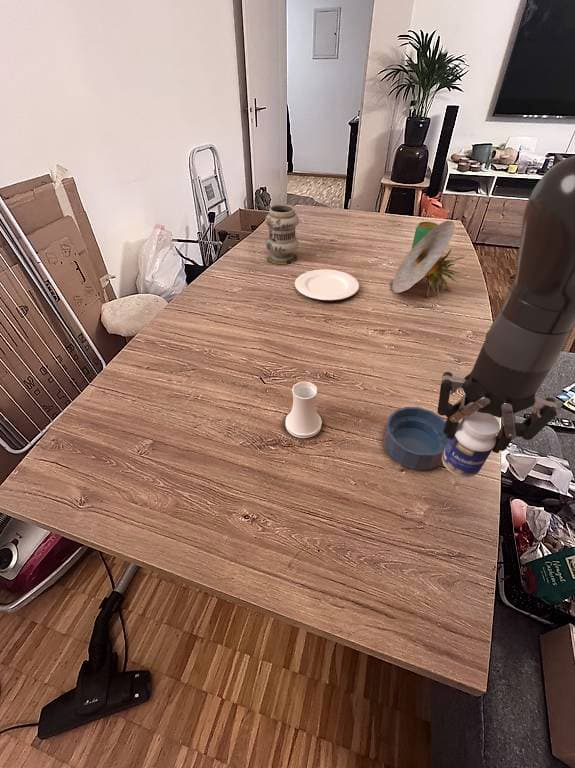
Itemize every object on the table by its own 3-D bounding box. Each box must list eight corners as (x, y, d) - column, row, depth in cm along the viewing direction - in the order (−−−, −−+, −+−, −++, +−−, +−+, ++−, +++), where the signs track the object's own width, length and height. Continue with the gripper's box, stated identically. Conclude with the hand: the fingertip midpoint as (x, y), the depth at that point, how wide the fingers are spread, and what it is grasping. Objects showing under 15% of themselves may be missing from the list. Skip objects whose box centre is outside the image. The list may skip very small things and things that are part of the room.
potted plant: (420, 333, 116) (497, 279, 102) (383, 293, 111) (459, 231, 98) (415, 301, 136) (479, 253, 122) (383, 266, 131) (446, 212, 118)
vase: (312, 443, 75) (314, 408, 68) (279, 430, 78) (278, 395, 71) (326, 418, 80) (330, 383, 73) (295, 407, 83) (295, 372, 76)
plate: (281, 289, 122) (281, 284, 121) (321, 268, 133) (321, 263, 132) (332, 312, 112) (333, 306, 110) (371, 287, 123) (371, 282, 122)
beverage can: (428, 253, 143) (436, 220, 135) (434, 262, 137) (443, 229, 129) (407, 253, 143) (414, 221, 135) (412, 262, 137) (420, 229, 129)
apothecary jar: (280, 268, 133) (279, 216, 121) (259, 257, 140) (256, 207, 128) (305, 259, 139) (306, 208, 127) (284, 249, 146) (284, 200, 134)
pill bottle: (442, 475, 57) (462, 432, 51) (440, 446, 61) (458, 403, 55) (482, 482, 56) (508, 440, 50) (477, 452, 60) (500, 409, 54)
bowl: (456, 447, 74) (464, 430, 71) (423, 483, 68) (430, 466, 65) (405, 414, 81) (410, 398, 77) (370, 444, 75) (374, 428, 71)
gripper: (451, 352, 43) (417, 444, 55) (595, 386, 39) (526, 478, 50) (457, 320, 48) (425, 410, 60) (585, 346, 44) (525, 438, 55)
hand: (472, 441), depth 55 cm, fingers closed on pill bottle, 5 cm apart
